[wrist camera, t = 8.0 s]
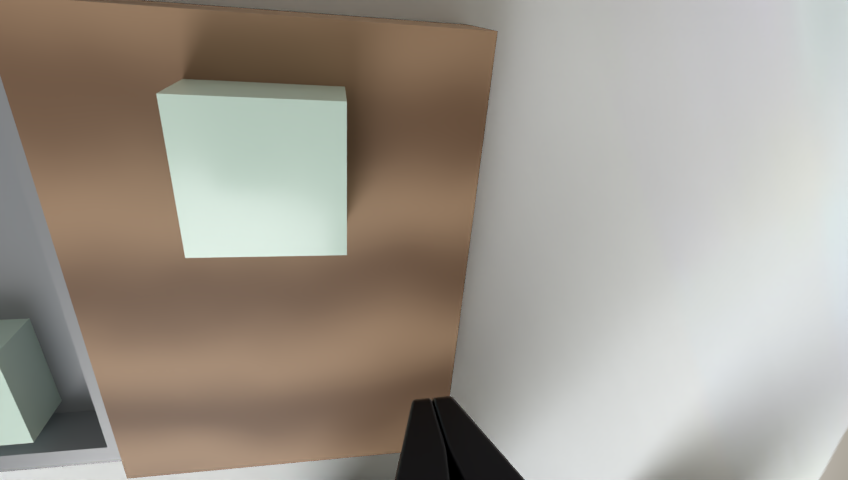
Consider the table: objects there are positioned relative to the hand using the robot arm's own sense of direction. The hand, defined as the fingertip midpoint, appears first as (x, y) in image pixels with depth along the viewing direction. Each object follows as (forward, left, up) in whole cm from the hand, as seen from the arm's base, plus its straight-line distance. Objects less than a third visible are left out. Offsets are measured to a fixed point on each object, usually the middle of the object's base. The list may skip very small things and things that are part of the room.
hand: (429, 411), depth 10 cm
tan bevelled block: (-3, +4, -14) cm, 14 cm away
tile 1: (+2, +4, -10) cm, 11 cm away
